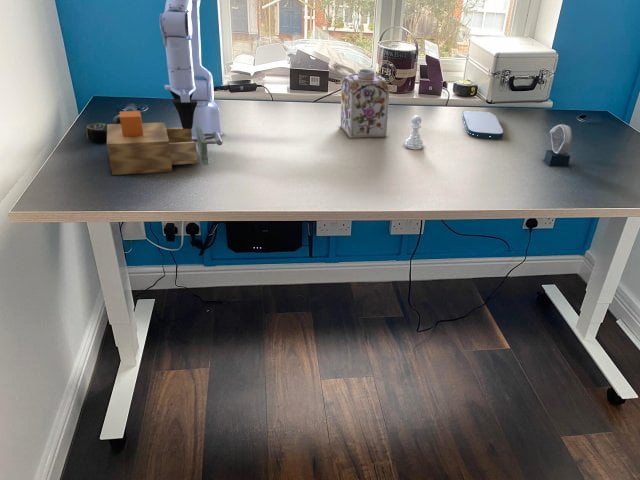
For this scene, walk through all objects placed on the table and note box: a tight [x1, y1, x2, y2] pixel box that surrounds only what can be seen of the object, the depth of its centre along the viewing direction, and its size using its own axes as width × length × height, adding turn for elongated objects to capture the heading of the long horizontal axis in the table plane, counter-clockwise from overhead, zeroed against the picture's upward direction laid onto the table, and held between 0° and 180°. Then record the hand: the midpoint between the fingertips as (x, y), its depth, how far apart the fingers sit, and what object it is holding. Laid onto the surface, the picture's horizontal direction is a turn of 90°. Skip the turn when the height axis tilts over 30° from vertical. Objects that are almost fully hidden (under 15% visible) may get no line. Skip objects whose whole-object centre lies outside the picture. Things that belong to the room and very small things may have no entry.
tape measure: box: [84, 122, 108, 143], centre depth 160 cm, size 7×7×4 cm
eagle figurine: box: [112, 103, 138, 124], centre depth 168 cm, size 8×7×9 cm
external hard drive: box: [461, 110, 505, 140], centre depth 196 cm, size 24×12×2 cm, turn 0°
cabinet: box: [106, 121, 173, 176], centre depth 148 cm, size 14×15×8 cm
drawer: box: [166, 125, 223, 166], centre depth 152 cm, size 17×13×6 cm
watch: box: [543, 123, 572, 167], centre depth 170 cm, size 6×8×11 cm
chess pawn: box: [404, 115, 424, 150], centre depth 173 cm, size 5×5×9 cm
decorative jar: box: [340, 68, 390, 139], centre depth 179 cm, size 12×12×18 cm
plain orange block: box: [119, 110, 143, 136], centre depth 145 cm, size 5×5×5 cm
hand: (186, 123), depth 149 cm, fingers open, 7 cm apart
